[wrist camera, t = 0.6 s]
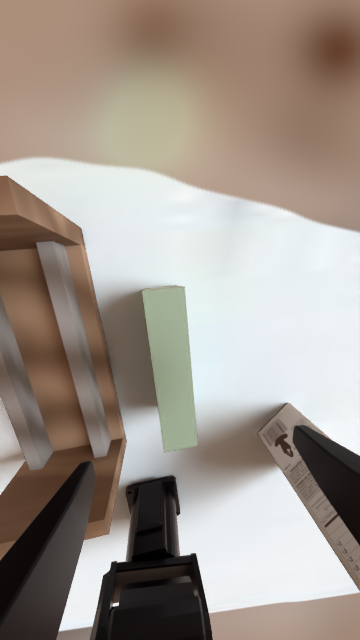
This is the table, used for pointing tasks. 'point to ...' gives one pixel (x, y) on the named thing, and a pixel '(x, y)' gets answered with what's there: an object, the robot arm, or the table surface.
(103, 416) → the cabinet base
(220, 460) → the table surface
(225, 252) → the table surface
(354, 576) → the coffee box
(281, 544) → the table surface
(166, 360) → the door panel
